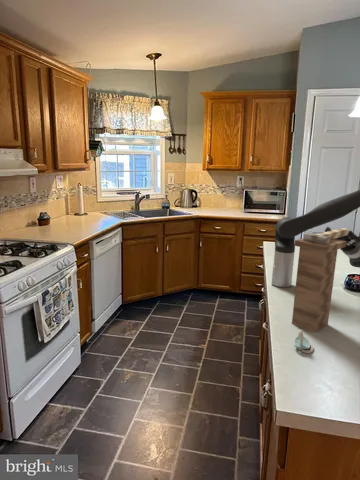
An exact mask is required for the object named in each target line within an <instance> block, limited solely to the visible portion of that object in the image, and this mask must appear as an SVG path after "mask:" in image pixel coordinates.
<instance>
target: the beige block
mask: <svg viewBox="0 0 360 480" xmlns="http://www.w3.org/2000/svg"><path fill="white" fill-rule="evenodd" d="M331 230H332V231H328V232H325V231H324V232H320V233H319V232H318V233H310V232H308V233H307V232H306V233H304V234H303V238H302V239H303V241H308V242H313V243H318V244H323V245H326V244H329V240H331V239H335V238H339V237H342V236H346V235H348V232H349V231H350V230H349V228H344V227H342V228H337V229H331Z"/></svg>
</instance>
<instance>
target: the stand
mask: <svg viewBox="0 0 360 480" xmlns="http://www.w3.org/2000/svg"><path fill="white" fill-rule="evenodd" d="M346 242H347V241H342V240H336V239H331V240H329V244H326V245H323V244H318V243H313V242H308V241H303V238H299V239H294V243H295V247H299V250H298V251H299V252H298V260H297V261H298V262H297V270H296V281H295V289H294V291H295V292H294V299H293V308H292V319H291V320H292V321H291V324H293V325H295V326H297V327H299V328H302V329H305V330H307V331H310V332H312V333H316V332H318V331H319V330H321V329H322V328H323V329H324V327H327V326H328V325H329V318H330V310H331V302H332V295H333V294H332V293H333V287H334V279H335V274H336V273H335V271H336V266H337V265H336V263H337V257H338V256H337V255H338V250H341V248H344V247H346Z"/></svg>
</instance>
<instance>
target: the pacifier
mask: <svg viewBox="0 0 360 480" xmlns="http://www.w3.org/2000/svg"><path fill="white" fill-rule="evenodd" d="M294 343H295V344H294V345H293V347H295V348H297V350H299V351H301V352H303V353H305V354H310V353H313V352H314V346H313V344H311V343H310V341H309V340H308V339H307V338H306V337H305V336H304V332H303V330H302V329H299V331H298V332H297V337H296V338H295V339H294Z"/></svg>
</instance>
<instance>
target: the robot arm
mask: <svg viewBox="0 0 360 480" xmlns="http://www.w3.org/2000/svg"><path fill="white" fill-rule="evenodd" d="M359 208H360V189H357V190H355V191H353V192H350V193H346V194H345V195H342V196H339V197H336V198H334V199H331V200H328V201H326V202H324V203H323V202H322V203H321V204H319V205H317V206H315V207H314V208H313V209H311V210H310V211H308V212H307V213H305V214H304V213H303V214H302V215H299V216H296V217H293V218H291V217H288V216H287V217H286V216H285V217H284V216H283V217H281V218H280V219H279V220H278V221H277V222H276V225H275V234H274V236H275V237H274V255H273V256H274V257H273V266H272V274H271V275H272V277H271V286H275V287H277V288H279V287H280V288H290V287H291V286H292V283H293V281H292V280H293V273H294V272H293V271H294V261H295V252H296V246H295V240H296V238H295V237H296V236H299V235H300V234H303V233H305V232H307V231H309V230H311V229H313V228H316V227H319V226H322V225H325V224H328V223H331V222H334V221H336V220H339V219H342V218H343V217H345V216H347V215H350V213H352V212H354V211H355V210H357V209H359ZM332 230H333V229H331V227H329V226H327V227H326V228H325V230H324V232H328V231H332ZM335 239H336V240H342V241H347V242H346V247H344V248H341V249H340V250H341V252H343V254H344V255H345V256H347V257H348V258H349V259H348V260H349V264H350V266H352V267H354V268H358V269H359V268H360V233H359V235H358V234H356V233H354V232H353V231H352V230H349V231H348V235H346V236H342V237H339V238H335Z"/></svg>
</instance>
